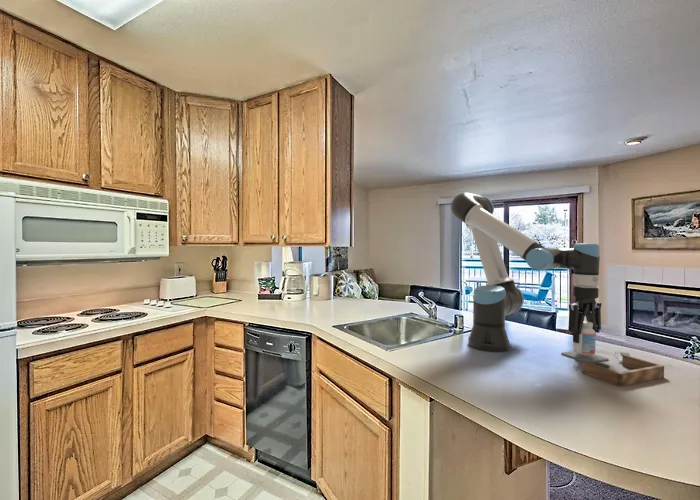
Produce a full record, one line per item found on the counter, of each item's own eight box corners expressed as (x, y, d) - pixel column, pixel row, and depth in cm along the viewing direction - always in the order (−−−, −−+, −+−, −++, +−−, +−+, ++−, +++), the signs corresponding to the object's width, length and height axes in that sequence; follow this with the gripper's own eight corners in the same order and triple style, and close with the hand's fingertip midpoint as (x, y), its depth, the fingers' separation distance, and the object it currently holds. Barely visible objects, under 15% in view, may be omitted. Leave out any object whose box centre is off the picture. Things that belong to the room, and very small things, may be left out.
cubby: (620, 386, 97) (620, 374, 97) (582, 372, 107) (582, 361, 107) (663, 377, 104) (664, 365, 104) (624, 365, 114) (624, 354, 114)
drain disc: (604, 368, 111) (604, 368, 111) (591, 364, 115) (591, 363, 115) (612, 367, 112) (612, 366, 112) (599, 363, 116) (599, 362, 116)
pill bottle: (595, 357, 118) (596, 324, 117) (574, 354, 121) (575, 322, 121) (594, 352, 123) (594, 321, 123) (573, 349, 126) (574, 319, 126)
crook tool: (619, 363, 116) (619, 360, 116) (615, 353, 126) (615, 350, 126) (634, 366, 114) (634, 362, 114) (629, 355, 124) (629, 352, 124)
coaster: (588, 363, 115) (588, 361, 115) (561, 354, 125) (561, 352, 125) (608, 360, 119) (608, 358, 119) (580, 351, 128) (580, 349, 128)
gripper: (577, 288, 115) (575, 356, 115) (614, 286, 121) (613, 351, 122) (556, 286, 122) (555, 350, 122) (593, 284, 128) (592, 345, 129)
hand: (584, 350), depth 122 cm, fingers closed on pill bottle, 6 cm apart
